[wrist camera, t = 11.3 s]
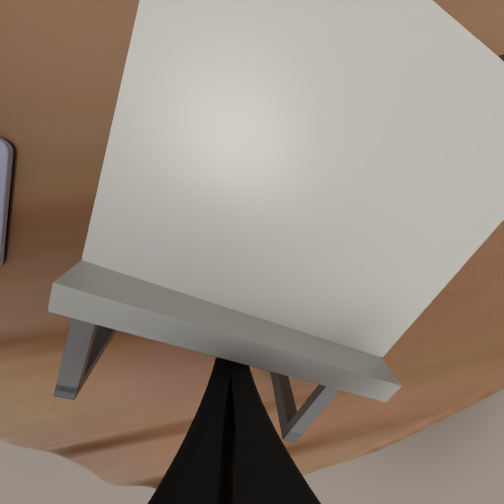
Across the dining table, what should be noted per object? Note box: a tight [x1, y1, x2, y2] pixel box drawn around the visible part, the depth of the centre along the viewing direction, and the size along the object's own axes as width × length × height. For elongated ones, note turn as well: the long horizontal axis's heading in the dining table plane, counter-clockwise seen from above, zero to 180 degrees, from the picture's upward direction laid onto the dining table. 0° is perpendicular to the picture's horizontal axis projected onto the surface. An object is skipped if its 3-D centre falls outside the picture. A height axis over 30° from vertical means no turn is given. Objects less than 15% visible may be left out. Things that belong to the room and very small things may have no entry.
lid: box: [48, 0, 504, 402], centre depth 8 cm, size 15×13×2 cm
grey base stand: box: [54, 54, 504, 442], centre depth 13 cm, size 15×24×6 cm, turn 155°
